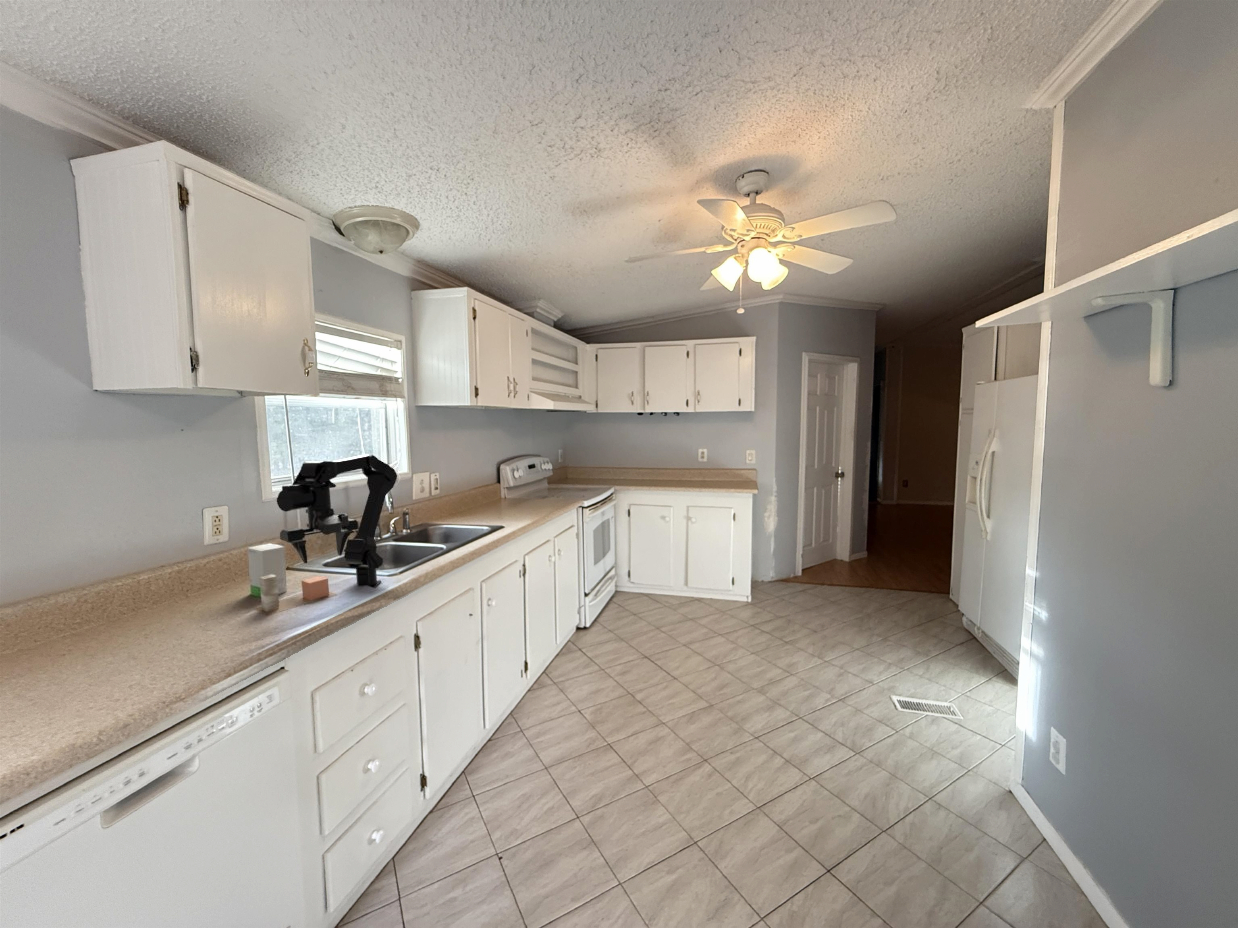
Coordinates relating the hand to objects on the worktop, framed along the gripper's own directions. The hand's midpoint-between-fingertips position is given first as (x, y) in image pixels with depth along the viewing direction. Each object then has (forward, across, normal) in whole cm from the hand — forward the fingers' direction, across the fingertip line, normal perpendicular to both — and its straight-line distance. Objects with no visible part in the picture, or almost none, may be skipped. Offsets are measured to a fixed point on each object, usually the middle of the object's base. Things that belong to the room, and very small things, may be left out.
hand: (323, 559), depth 140 cm
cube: (+12, -1, +5) cm, 13 cm away
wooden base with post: (+13, -6, +5) cm, 15 cm away
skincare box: (+13, -7, +21) cm, 26 cm away
